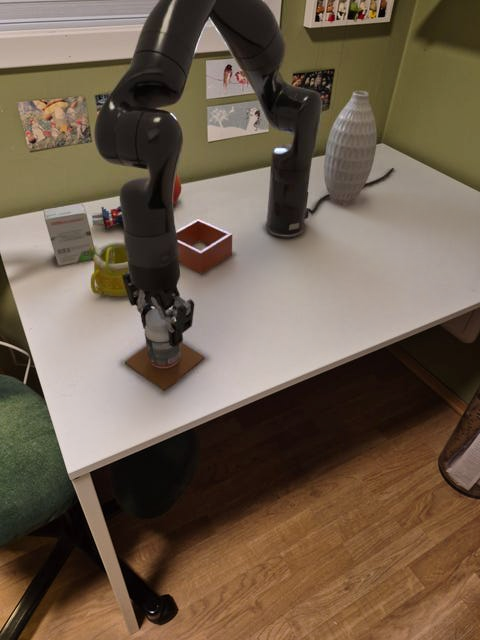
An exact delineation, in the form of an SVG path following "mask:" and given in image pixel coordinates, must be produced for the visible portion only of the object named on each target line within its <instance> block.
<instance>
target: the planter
mask: <svg viewBox="0 0 480 640" xmlns="http://www.w3.org/2000/svg"><path fill="white" fill-rule="evenodd" d="M176 232H177V238H178V251H179V264H181V265H183V266H184V267H186V268H188V269H190V270H192V271H194V272H196V273H198V274H200V275H203V274H205V273H206V272H207V271H209V270H211V269H212V268H214V267H215V266H216V265H218V264H220V263H222V262H223V261H224V260H226V259H227V258H229V257H230V256H232V255H233V233H231V232H229V231H226V230H224V229H222V228H220V227H217V226H215V225H213V224H211V223H208V222H206V221H204V220H203V219H199V218H196V219H195V220H193V221H191V222H189V223H188V224H186V225H184V226H182V227H180V228H178V229H176ZM198 242H200V243H202V244H204V245H206V247H204V248H203V249H201V250H200V249H198V248H195V247H193V245H195V244H197V243H198Z"/></svg>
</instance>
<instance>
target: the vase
mask: <svg viewBox="0 0 480 640" xmlns="http://www.w3.org/2000/svg"><path fill="white" fill-rule="evenodd" d="M377 141H378V131H377V122H376V117H375V114H374V112H373V108H372V106H371V103H370V94H369V92H367V91H365V90H355V91H353V92H352V95H351V98H350V99H349V101H347V103H346V104H345V106H344V107H343V108H342V110H341V111H340V112H339V113H338V115H337V117H336V118H335V120H334V122H333V125H332V127H331V129H330V130H329V135H328V138H327V142H326V148H325V153H324V163H323V178H324V185H325V187H326V192H327V195H328V194H329V196H330V197H329V198H330V200H331V202H333V204H337V205H350V204H352V203H353V201H355V199H356V198H357V197H358V196H359V195H360V193H361V192H362V191H363V189H364V185H365V184H366V183H367V181H368V180H369V176H370V174H371V172H372V168H373V164H374V162H375V161H374V160H375V156H376V155H375V154H376V150H377V144H378V143H377Z"/></svg>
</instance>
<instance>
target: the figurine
mask: <svg viewBox="0 0 480 640" xmlns="http://www.w3.org/2000/svg"><path fill="white" fill-rule="evenodd" d="M91 219H92V221H91V222H92V225H93V226H96V225H97V226H98V225H99V226H100V225H104V230H108V228H109V227H112V226H115V225H118V224H119V227H121V228H122V229H124V224H123V218H122V211H121V206H120V205H119V206H118V207H116V208H111V209H109V208H105V207H104V206H101V212H93V213H91Z"/></svg>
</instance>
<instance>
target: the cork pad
mask: <svg viewBox="0 0 480 640" xmlns="http://www.w3.org/2000/svg"><path fill="white" fill-rule="evenodd" d="M180 350H181V357H180V360H179V362H178V363H177V364H176V365H174V366H172V367H169V368H158V367H155V366H153V365H152V364H151V363H150V361H149V358H148V352H147V345H146V346H144V347H143V348H141V349H140V350H139V351H138V352H136V353H134V354H133V355H132V356H130V357H129V358H128V359H126V360H125V361H124V364H125V365H126V366H128V367H129V368H131V369H132V370H133V371H135V372H136V373H138V374H139V375H140V376H142V377H143V378H144V379H146V380H148V381H149V382H150V383H152V384H153V385H154V386H156V387H157V388H158V389H160V390H161V391H163V392H167V391H168V390H169V389H170V388H171V387H173V385H175V384H176V383H177V382H179V381H180V380H181V379H182V378H183V377H185V376H186V375H187V374H188V373H189V372H190V371H192V370H193V369H194V368H195V367H197V366H198V365H199V364H200V363H201V362H203V361H204V360H205V359H206V358H205V356H204V355H202V354H201V353H199V352H198V351H197V350H195V349H193V348H191V347H190V346H188V345H187V344H185V343H183V341H182V342H181V343H180Z"/></svg>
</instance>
